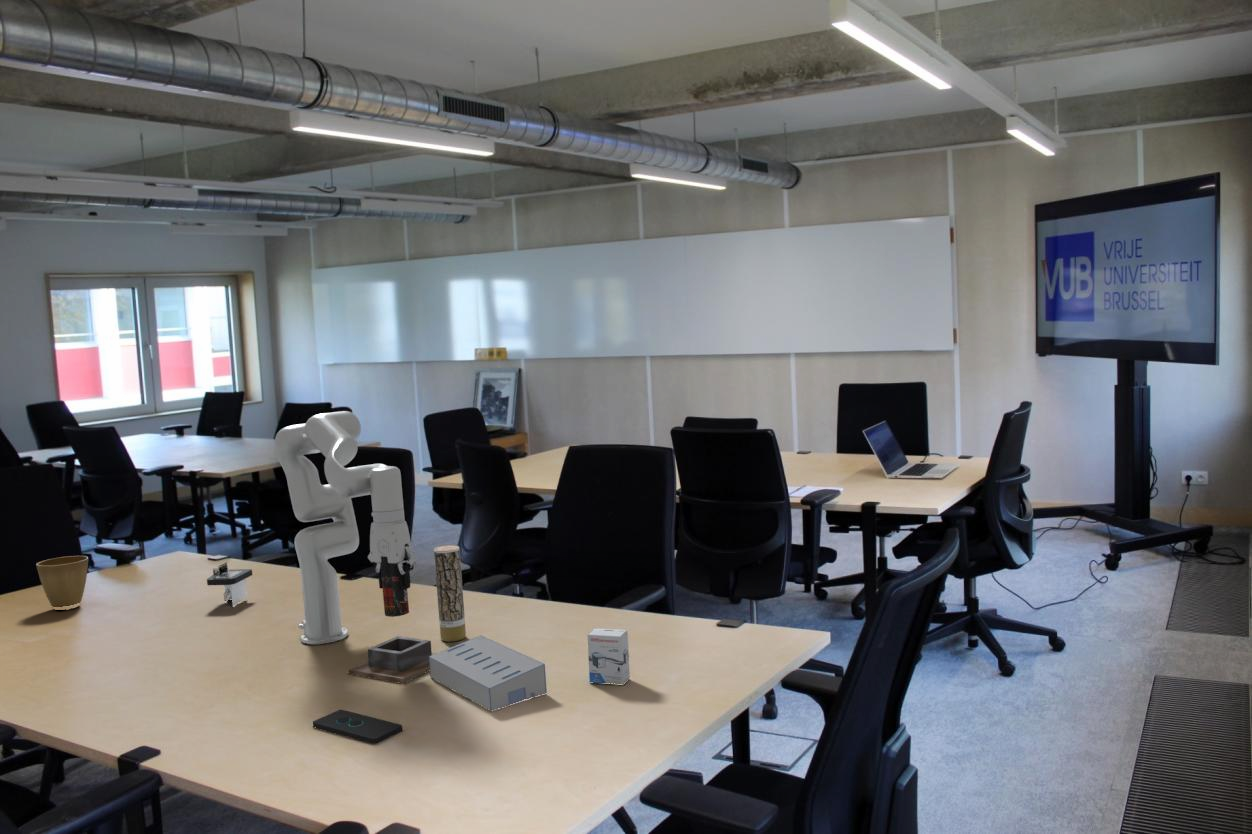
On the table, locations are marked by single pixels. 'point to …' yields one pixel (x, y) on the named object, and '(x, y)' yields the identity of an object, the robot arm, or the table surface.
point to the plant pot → (63, 579)
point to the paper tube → (450, 593)
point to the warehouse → (488, 673)
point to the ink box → (608, 656)
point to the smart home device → (358, 726)
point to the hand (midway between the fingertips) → (394, 587)
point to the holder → (396, 660)
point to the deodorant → (393, 590)
